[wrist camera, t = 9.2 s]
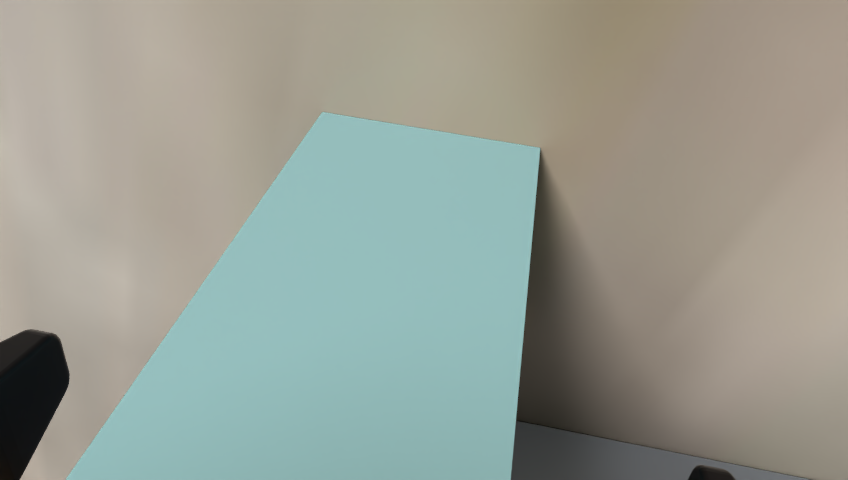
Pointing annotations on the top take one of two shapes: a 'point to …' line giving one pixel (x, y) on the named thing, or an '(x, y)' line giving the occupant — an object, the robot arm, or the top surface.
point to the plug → (348, 323)
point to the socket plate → (606, 459)
